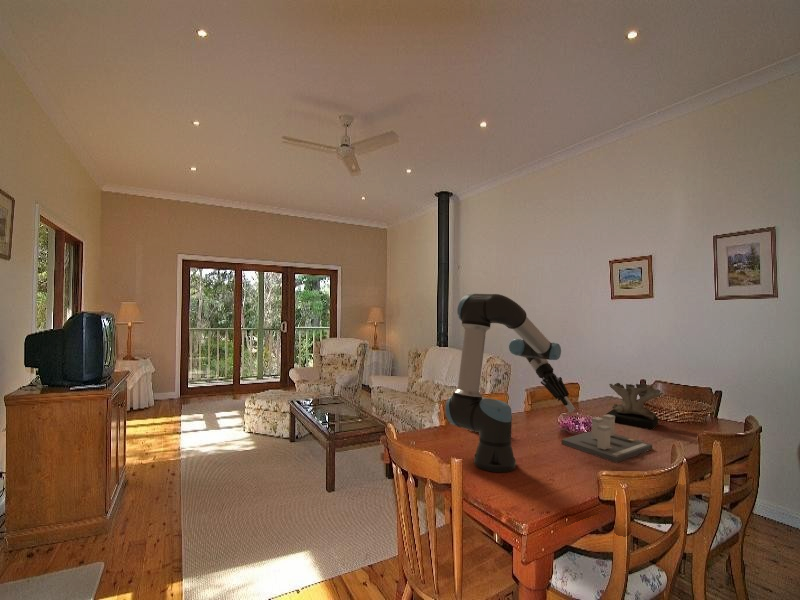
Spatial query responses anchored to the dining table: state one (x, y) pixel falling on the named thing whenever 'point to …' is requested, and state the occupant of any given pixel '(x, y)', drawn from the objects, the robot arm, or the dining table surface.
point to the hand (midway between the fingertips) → (572, 410)
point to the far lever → (610, 423)
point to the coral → (634, 405)
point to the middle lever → (595, 423)
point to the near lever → (603, 437)
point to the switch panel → (617, 451)
